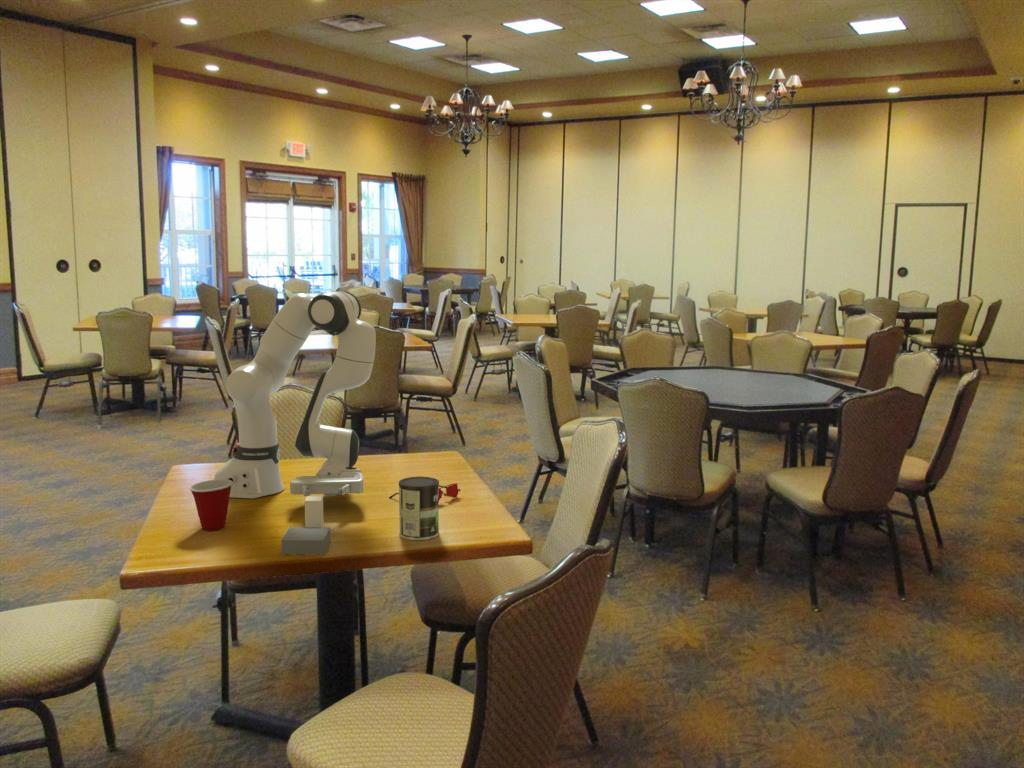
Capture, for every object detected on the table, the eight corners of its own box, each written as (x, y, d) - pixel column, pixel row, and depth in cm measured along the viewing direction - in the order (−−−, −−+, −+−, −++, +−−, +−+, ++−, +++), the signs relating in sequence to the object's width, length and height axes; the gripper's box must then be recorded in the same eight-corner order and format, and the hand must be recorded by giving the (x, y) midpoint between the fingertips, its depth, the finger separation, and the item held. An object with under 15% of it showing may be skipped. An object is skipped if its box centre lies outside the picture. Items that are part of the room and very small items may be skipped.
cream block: (305, 534, 221) (304, 500, 219) (308, 529, 225) (307, 496, 223) (321, 534, 221) (320, 500, 220) (323, 529, 225) (322, 496, 224)
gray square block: (281, 556, 206) (281, 540, 205) (289, 542, 216) (289, 527, 215) (323, 556, 206) (323, 540, 206) (330, 542, 216) (330, 527, 216)
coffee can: (439, 527, 228) (439, 476, 226) (438, 540, 218) (438, 486, 216) (399, 528, 227) (399, 476, 225) (397, 541, 217) (397, 486, 215)
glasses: (431, 509, 246) (431, 492, 245) (388, 499, 255) (388, 483, 254) (461, 498, 257) (461, 481, 257) (418, 489, 267) (418, 473, 266)
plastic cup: (200, 520, 231) (198, 477, 229) (240, 521, 230) (238, 478, 229) (183, 533, 220) (181, 488, 218) (225, 534, 220) (223, 489, 218)
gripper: (294, 469, 246) (284, 482, 233) (366, 468, 248) (360, 480, 234) (295, 491, 247) (285, 504, 234) (366, 489, 248) (361, 502, 235)
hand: (323, 492), depth 234 cm, fingers open, 8 cm apart
